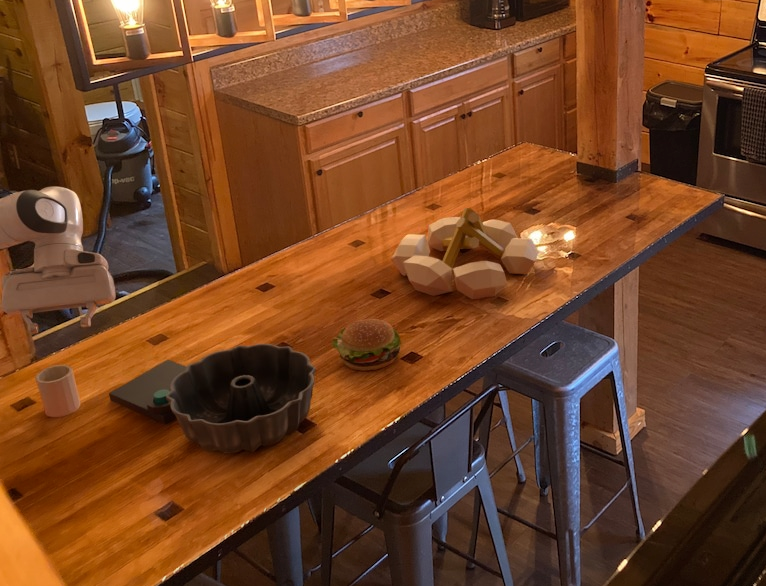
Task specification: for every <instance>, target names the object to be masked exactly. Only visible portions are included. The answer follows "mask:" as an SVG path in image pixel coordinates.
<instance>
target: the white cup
mask: <svg viewBox="0 0 766 586" xmlns="http://www.w3.org/2000/svg"><path fill="white" fill-rule="evenodd" d="M35 382H36V386H37V389H38V393H39V396H40V400H41V403H42V407H43V411H44V413H45V415H46V416H47V417H50V418H61V417H65V416H68V415H71V414H73V413H74V412H76V411H77V410H78V409H80V407H81V403H82V402H81V397H80V393H79V390H78V386H77V383H76V378H75V374H74V370H73V368H72V367H71V365H68V364H56V365H51V366H48V367H46V368H44V369H42V370H40V371H38V373H36V375H35Z"/></svg>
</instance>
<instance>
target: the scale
mask: <svg viewBox="0 0 766 586" xmlns="http://www.w3.org/2000/svg"><path fill="white" fill-rule="evenodd" d="M186 367H187V365H183V364H181V363H179V362H176V361H174V360H171V359H166V360H164V361H162V362H161V363H158V364H157V365H155V366H154V367H152V368H151V369H149V370H147V371H145V372H144V373H143V372H142V373H141V374H140V375H138V376H136V377H135V378H132V379H131V380H129V381H127V382H125V383H124V384H122V385H121V386H119V387H117V388H115V389H114V390H111V391H110V392H108V397H109V401H110V402H112V403H115V404H117V405H119V406H121V407H124V408H126V409H128V410H130V411H133V412H135V413H137V414H140V415H141V416H144V417H147V418H149V419H151V420H153V421H156V422H158V423H161V424H162V425H167V424H168V423H170V422H172V421H173V420H175V419H177V418H176V415H175V414H174V413H173V412H172V410H171V407H170V404H171V403H170V402H169V401H168V402H166V403H163V404H156V403H155V400H154V393H155V392H157V391H159V390H168V391H169V392H170V391H171V388H170V384H171V382H172V380H173V379H174V378H175V377H176V376H177V375H179V374H180V373H182V372H184V371H185V370H186Z"/></svg>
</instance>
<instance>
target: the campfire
mask: <svg viewBox="0 0 766 586" xmlns="http://www.w3.org/2000/svg"><path fill="white" fill-rule="evenodd" d="M515 231H516V230H515V229H514V227H513V225H512V223H511V222H508V221H504V220H500V219H499V220H498V219H496V218H493V219H488V220H484V221H483V220H482V218H481V216H480V214H478V213H477V212H476V211H475V210H474V209H472V208H468V207H464V209H463V211H462V214H461V216H452V217H443V218H440V219H438V220H436V221H435V222H433V223H431V224H429V225H428V230H427V236H426V234H416V233H415V234H414V233H408V234H407V235H405V236H404V237H403V238H402V239H401V241H400V243H399V244H398V246H397V247H396V249H395V250H394V253H393V254H392V256H391V258H390V261H391V262H392V263H393V265H394V266H395V268H396V269H397V271H398V272H399V273H400V274H401V275H402V276H403V277H407V279H408V282H410V284H411V285H412V287H413V288H414V290H415V292H416V291H417V292H419V293H423V294H426V295H429V296H432V297H435V296H439V295H443V294H446V293H447V294H448V293H450V292H452V291H453V288H452V287H453V285H452V283H453V276H454V282H455V287H456V290H457V291H458V292H459V293H461V294H463V295H464V296H466V297H467V298H469V299H470V300H472V301H473V299H474V300H479V299H480V300H481V299H486V298H493V297H496V295H498V294H499V293H500V292H501V291H503V290H504V289H505V288H506V287H507V286H508V280H507V278H506V274H505V270H504V269H503V267H505V269H506V270H507V272H508V274H510V275H528V274H529V272H530V270H531V269H532V268H533V266H534V264H536V261H537V257H538V256H539V250H538V248H537V247H536V244H535V243H534V241H533V239H532V238H523V237H522V238H521V237H518V235H517V234H516V232H515ZM478 247H480V248H482V249H483V251H486V252H487V251H488V252H487V253H490V254H491V255H492V256H494V257H495V258H496V259H498V260H499V261H501V263H502V265H503V267H502V266H501V264H500V263H498V262H493V261H489V260H480V261H473V262H469V263H466V264H463V265H459V266H456V267H454V265H455V262H456V260H457V258H458V255H459V253H460V251H461V250H468V249H470V250H473V249H474V250H475V249H476V248H478ZM430 248H431V249H435V250H436V251H439V252H442V251H446V252H444V256H443V258H442V260H441V259H440V258H436V257H433V256H430V253H431V249H430ZM460 249H461V250H460ZM485 297H486V298H485Z"/></svg>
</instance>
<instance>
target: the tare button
mask: <svg viewBox="0 0 766 586" xmlns="http://www.w3.org/2000/svg"><path fill="white" fill-rule="evenodd" d="M168 393H169V391H168V390H159V391H157V392H155V393H154V400H155V403H156V404H163V403H166V402H168V400H167V399H166V395H167V394H168Z"/></svg>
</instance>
